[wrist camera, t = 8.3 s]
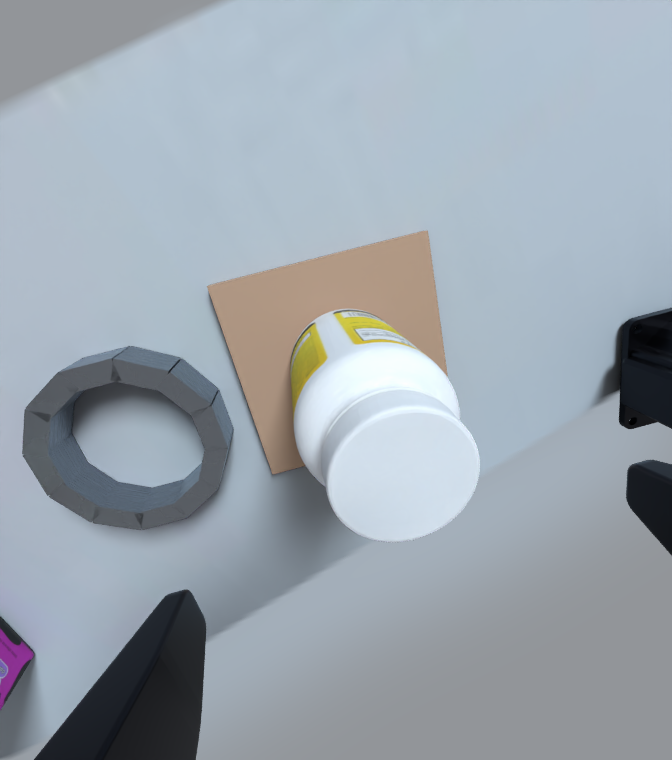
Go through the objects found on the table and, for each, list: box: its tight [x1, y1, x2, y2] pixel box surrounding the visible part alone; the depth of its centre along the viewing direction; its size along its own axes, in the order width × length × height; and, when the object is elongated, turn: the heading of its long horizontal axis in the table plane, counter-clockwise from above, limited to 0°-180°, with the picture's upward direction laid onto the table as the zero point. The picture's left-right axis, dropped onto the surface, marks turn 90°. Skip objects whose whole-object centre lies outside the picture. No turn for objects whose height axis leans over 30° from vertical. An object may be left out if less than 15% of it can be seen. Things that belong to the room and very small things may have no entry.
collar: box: [22, 346, 234, 530], centre depth 18 cm, size 8×8×2 cm
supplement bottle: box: [290, 309, 480, 542], centre depth 14 cm, size 5×5×10 cm
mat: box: [207, 231, 448, 474], centre depth 19 cm, size 10×10×1 cm
